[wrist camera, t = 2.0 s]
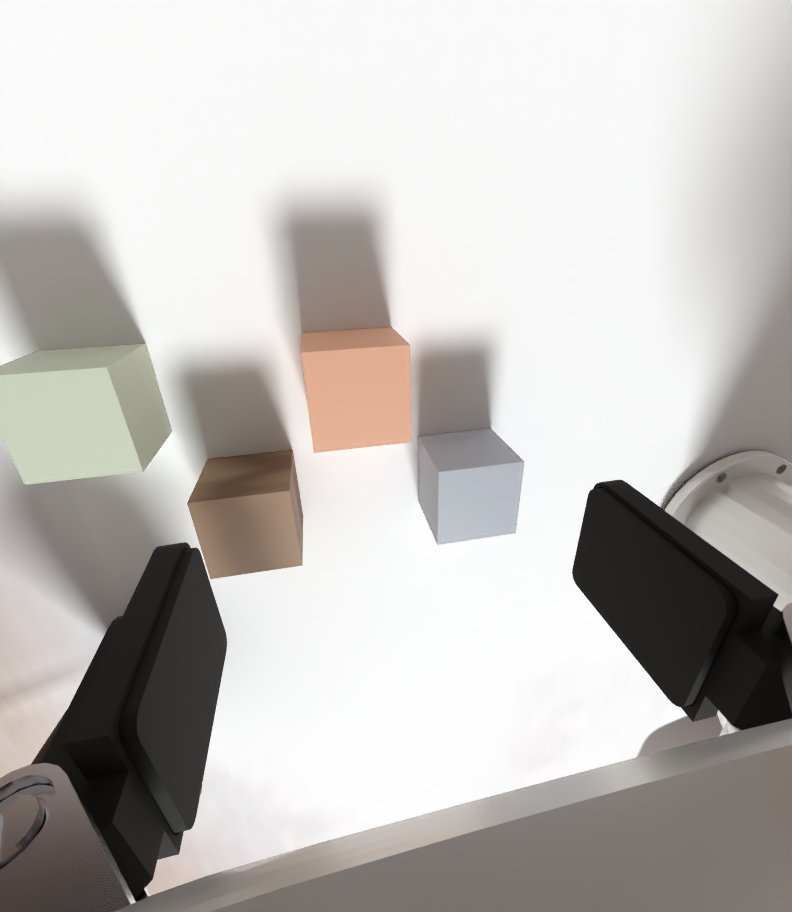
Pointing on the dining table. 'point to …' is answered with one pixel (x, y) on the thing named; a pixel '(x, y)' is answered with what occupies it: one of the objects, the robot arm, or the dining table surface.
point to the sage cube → (81, 412)
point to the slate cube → (468, 485)
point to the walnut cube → (248, 514)
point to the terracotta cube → (357, 387)
